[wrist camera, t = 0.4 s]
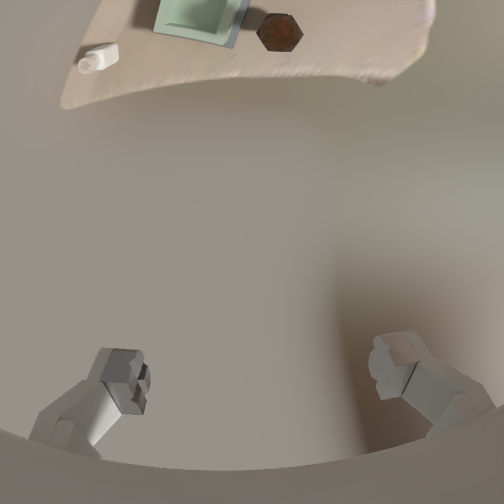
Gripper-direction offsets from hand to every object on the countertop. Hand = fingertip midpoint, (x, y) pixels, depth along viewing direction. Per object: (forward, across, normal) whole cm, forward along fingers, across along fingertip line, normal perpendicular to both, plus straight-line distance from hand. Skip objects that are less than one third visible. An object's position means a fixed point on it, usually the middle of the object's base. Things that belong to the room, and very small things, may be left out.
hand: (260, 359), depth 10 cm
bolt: (+46, -7, -23) cm, 51 cm away
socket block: (+44, +5, -27) cm, 52 cm away
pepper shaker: (+50, +24, -22) cm, 59 cm away
